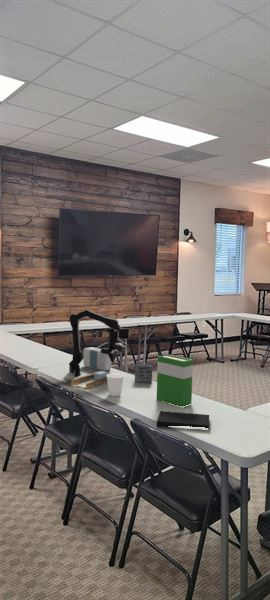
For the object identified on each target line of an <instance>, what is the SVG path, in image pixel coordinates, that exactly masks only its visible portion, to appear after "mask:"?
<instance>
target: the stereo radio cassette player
mask: <svg viewBox="0 0 270 600" xmlns="http://www.w3.org/2000/svg"><path fill="white" fill-rule="evenodd" d="M106 344H109V342H104V343H103V344H101V345H99V346H97V347H91V346H90V347H84V348H83V356H84V358H83V360H82V361H83V362H82V363H83V366H84V367H87V368H90V369H94V370H98V371H104V372H108V371H110V370H112V362H111V360H110V358H109V356H108V354H103V353H101V349H102V348H100V347H102V346H105V345H106Z"/></svg>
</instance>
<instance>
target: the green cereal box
mask: <svg viewBox="0 0 270 600" xmlns="http://www.w3.org/2000/svg"><path fill="white" fill-rule="evenodd" d="M193 365H194V359H191V358H187V357H181V356H178V355H173V354H168V353H166V354H165V355H163V356H162V355H158V356H157V365H156V366H157V371H156V372H157V373H156V376H157V377H156V401H158V400H160V401H159V402H161V401H164V402H167V403H166V404H168V403H171V404H174V405H178V406H182V407H183V406H186V405H189V404H191V405H192V396H193V395H192V392H193V370H194V369H193V367H194V366H193ZM164 402H163V403H164ZM171 404H170V405H171ZM174 405H173V406H174Z"/></svg>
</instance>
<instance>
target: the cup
mask: <svg viewBox="0 0 270 600" xmlns="http://www.w3.org/2000/svg"><path fill="white" fill-rule="evenodd" d="M106 376H107V381H108V382H107V387H108V393H109V396H110V395H111V396H110V397H114V396H116V397H120V396H121V394H122V389H123V385H124V384H123V383H124V377H125V374H122V373H118V372H117V373H114V372H113V373H110V374H107V375H106ZM119 395H120V396H119Z"/></svg>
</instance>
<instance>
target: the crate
mask: <svg viewBox="0 0 270 600" xmlns="http://www.w3.org/2000/svg"><path fill="white" fill-rule="evenodd" d="M107 374H111V373H110V372H109V371H102V370H99V371H96V372H94V379H93V381H95V380H98V379H101V378H104V377H107V376H106V375H107Z"/></svg>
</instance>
